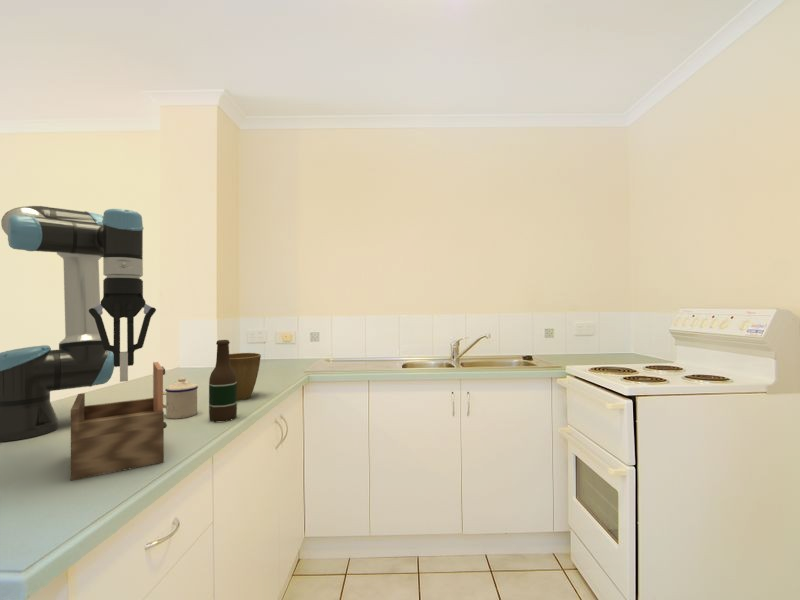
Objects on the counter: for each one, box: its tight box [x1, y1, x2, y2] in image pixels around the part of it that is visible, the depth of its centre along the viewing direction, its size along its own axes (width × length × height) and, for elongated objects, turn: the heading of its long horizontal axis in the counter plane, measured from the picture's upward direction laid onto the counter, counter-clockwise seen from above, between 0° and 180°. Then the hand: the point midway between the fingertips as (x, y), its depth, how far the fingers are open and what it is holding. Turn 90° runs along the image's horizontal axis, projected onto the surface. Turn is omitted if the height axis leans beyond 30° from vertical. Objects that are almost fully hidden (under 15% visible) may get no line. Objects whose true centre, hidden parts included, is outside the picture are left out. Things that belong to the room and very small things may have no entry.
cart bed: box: [70, 392, 168, 481], centre depth 92 cm, size 17×18×14 cm
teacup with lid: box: [163, 377, 199, 419], centre depth 128 cm, size 12×9×12 cm
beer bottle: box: [208, 339, 238, 423], centre depth 123 cm, size 8×8×24 cm
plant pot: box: [229, 352, 262, 401], centre depth 151 cm, size 15×15×16 cm
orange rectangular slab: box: [152, 361, 166, 412], centre depth 97 cm, size 2×15×12 cm, turn 35°
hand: (123, 380), depth 92 cm, fingers closed
